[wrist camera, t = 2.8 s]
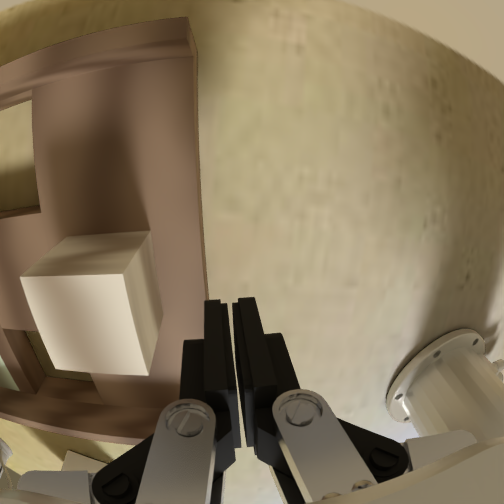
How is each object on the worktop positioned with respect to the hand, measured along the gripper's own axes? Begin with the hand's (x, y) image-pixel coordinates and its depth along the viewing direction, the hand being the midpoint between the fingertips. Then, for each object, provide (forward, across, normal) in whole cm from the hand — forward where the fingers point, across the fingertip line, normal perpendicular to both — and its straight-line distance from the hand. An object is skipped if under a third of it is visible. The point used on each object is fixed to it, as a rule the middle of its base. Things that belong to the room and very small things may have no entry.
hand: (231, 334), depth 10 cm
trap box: (+9, +13, +1) cm, 16 cm away
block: (+6, +6, +1) cm, 9 cm away
